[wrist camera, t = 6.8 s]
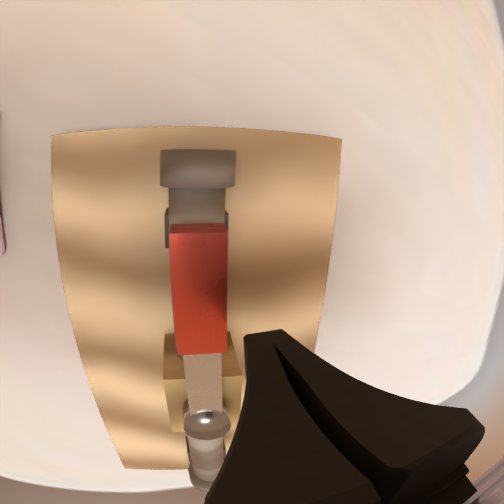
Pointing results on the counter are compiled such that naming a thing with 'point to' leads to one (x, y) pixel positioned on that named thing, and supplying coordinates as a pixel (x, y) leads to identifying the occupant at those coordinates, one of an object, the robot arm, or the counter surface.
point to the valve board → (142, 263)
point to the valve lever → (201, 322)
